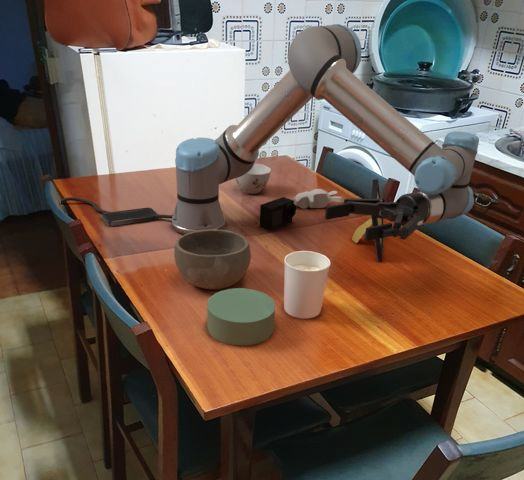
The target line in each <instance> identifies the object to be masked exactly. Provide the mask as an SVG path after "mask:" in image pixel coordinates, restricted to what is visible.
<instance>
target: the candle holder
mask: <svg viewBox="0 0 524 480" xmlns="http://www.w3.org/2000/svg"><path fill="white" fill-rule="evenodd" d="M283 259H284V260H283V261H284V272H283V273H284V275H283V277H284V278H283V309H284V311H285V312H286V314H287V315H289V316H291V317H293V318H296V319H301V320H302V319H303V320H304V319H307V320H308V319H313V318H316V317H317V316H319V315H320V314H321V312H322V308H323V302H324V298H325V292H326V288H327V284H328V283H327V282H328V277H329V273H330V267H331V260H330V259H329V257H327V256H326V255H324V254H322V253H320V252H316V251H312V250H297V251H292V252H290V253H288V254H287V255H285V257H284V258H283Z"/></svg>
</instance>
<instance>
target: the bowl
mask: <svg viewBox="0 0 524 480" xmlns="http://www.w3.org/2000/svg"><path fill="white" fill-rule="evenodd" d="M173 252H174V254H173V255H174V262H175V265H176V268H177V270H178V272H179V273H180V275H181V276H182V277H183V279H184V280H185V281H186V282H187V283H188V284H190V285H193V286H194V287H197V288H201V289H206V290H224V289H226V288H229V287H231V286H233V285H235V284H237V283H238V282H239V281H240V280H242V278H243V277H244V276H245V275H246V273H247V271H248V270H249V267H250V263H251V258H252V257H251V255H252V253H251V246H250V244H249V241H248V239H247V238H246V237H245V236H243V234H240V233H238V232H235V231H232V230H228V229H223V230H217V229H208V230H200V231H194V232H190V233H187V234H182V235H181V236H179V237H178V238H177V239H176V241H175V244H174V251H173Z"/></svg>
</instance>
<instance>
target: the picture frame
mask: <svg viewBox="0 0 524 480" xmlns="http://www.w3.org/2000/svg"><path fill="white" fill-rule="evenodd" d="M379 184H380V183H379V179H378V178H375V179H372V187H371V195H370V196H371V197H370V199H377V198H381V193H380V185H379ZM379 214H381V215H382V210H381V211H380V213H379ZM370 216H371V217H370V218H369V219H368V220H366V221H365V222H363V223H362V224H361V225H359V226H358V227H357V228H355V231H354V233H353V235H352V237H351V240H352V241H353V242H354V243H355V244H358V243H359V242H360V241H361V239H362V238H363V237H364V236H365V233H366V228H368V227H373V226H377V225H382V224H384V219H382V218H376V216H372V215H370ZM374 247H375V254H376V260H377V261H376V262H382V261H383V256H384V238H381V239H376V240H374Z"/></svg>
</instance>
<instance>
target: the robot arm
mask: <svg viewBox="0 0 524 480" xmlns="http://www.w3.org/2000/svg"><path fill="white" fill-rule="evenodd" d="M361 61H362V43H361V41H360V38H359V36H358V34H357V33H356V32H355V31H354V30H353V29H352V28H351V27H349V26H347V25H343V24H341V23H333V24H328V25H318V26H317V25H315V26H314V25H313V26H308V27H306V28H304V29H302V30H301V31H299V32H298V33H297V34H296V35H295V36H294V38H293V39H292V41H291V42H290V46H289V48H288V53H287V62H288V67H289V70H288V71H287V72H286V73H285V75H283V76H282V77H281V78H280V80H278V82H277V83H276V84H275V85H274V86H273V87H272V88H271V89H270V91H268V92H267V94H266V95H265V96H264V97H262V99H261V100H260V101H259V102H258V103H257V104H256V105H255V106H254V107H253V108H252V109H251V110H250V112H249V113H247V114H246V116H245V117H244V118H243V119H242V120H241V121H240V122H239V123H238V124H230V125H229V126H227V128H226V129H225V130H224V131H223V132H222V133H221V134H220V135H219V136H218V137H217V138H215V139H213V138H210V137H196V138H194V137H192V138H189V139H186V140H185V139H184V140H183V141H181V142H180V143H179V144H178V145H177V147H176V149H175V158H174V164H175V176H176V177H175V178H176V198H177V199H176V202H175V206H174V210H173V213H172V214H159V213H156V214H148V215H153V216H157V218H158V219H171V227H172V228H173V230H174V231H175V232H176V233H179V234H182V235H185V234H187V233H190V232H194V231H200V230H208V229H217V230H225V228H226V219H225V216H224V213H223V209H222V206H221V202H220V185H222V184H224V183H227V182H229V181H232V180H234V179H235V178H238V177H240V176H243V175H245V174H246V173H247V172H249V171H250V170H251V168H252V167H253V165H254V164H256V161H257V159H258V158H259V156H260V149H261V148H262V147H263V146H264V145H265V144H266V143H267V142H268V141H270V139H271V138H272V137H273V136H275V134H277V133H278V132H279V131H280V130H281V129H282V128H283V127H284V126H285V125H286V124H287V123H288V122H290V120H291V119H292V118H294V116H295V115H296V114H298V113H299V112H300V110H301V109H302V108H304V106H306V105H307V104H308V103H309V102H310V101H311V100H312V99H313V98H314V99H315V100H317V101H321V100H325V101H326V103H328V104H329V105H330V106H331V107H333V108H334V109H335V110H336V111H337V112H338V113H340V114H341V115H342V116H343V117H344V118H345V119H347V121H349V122H350V123H351V124H353V125H354V126H355V127H356V128H357V129H359V130H360V131H361V132H362V133H363V134H364V135H366V136H367V137H368V138H369V139H370V140H372V141H373V143H375V144H376V145H378V146H379V148H381V149H382V150H383V151H384V152H385V153H387V154H388V155H389V156H390V157H392V158H393V159H394V160H395V161H396V162H397V163H399V164H400V165H401V166H402V167H403V168H404V169H406V170H407V171H408V172H409V173H410V174H411V175H413V178H414V182H415V186H416V187H417V189H418V190H419V191H417V192H416V191H415V192H409V193H405V194H402V195H400V196H399V197H398V198H397V199H396V200H395V201H389V202H387V201H386V198H385V197H380V198H377V199H371V198H350V197H349V198H347V197H346V198H344V199H343V203H339V204H334V205H329V206H326V207H325V211H324V220H332V219H339V218H343V217H349V216H350V215H351V214H352V215H363V216H371V215H372V216H376V218H382V219H383V220H387V221H389V222H387V223H383V224H382V225H377V226H373V225H372V226H370V227H368V228H366V233H365V234H364V239H363V240H364V242H371V241H375V240H376V239H381V238H383V239H385V238H388V237H393V238H397V237H399V240H402V241H404V240H407V239H408V238H409V237H410V236H411V235H412V234H413V233H414V232H415V231H416V230H419V229H422V228H423V225H429V224H432V223H437V222H440V221H444V220H451V219H456V218H458V217H461V216H464V215H466V214H468V213H469V212H470V211H471V209H472V208H473V206H474V204H475V198H474V191H473V189H472V188H471V187H470V186H469V184H470V180H471V176H472V173H473V169H474V165H475V161H476V157H477V154H478V151H479V149H478V148H479V145H480V143H479V142H480V139H479V137H478V135H476V134H474V133H472V132H467V131H449V132H448V133H446V135H445V136H444V140H443V143H442V145H441V146H439V145H438V144H437V143H436V142H435V141H434V140H433V139H431V138H430V137H429V136H428V135H427V134H425V133H424V132H423V131H422V130H421V129H419V127H417V126H416V125H415V124H413V122H411V121H410V120H409V119H408V118H406V117H405V116H404V115H403V114H401V112H399V111H398V110H397V109H396V108H394V106H392V105H391V104H390V103H389V102H387V101H386V99H383V97H381V96H380V95H379V94H378V93H376V92H375V91H374V90H373V89H372V88H371V87H369V85H367V84H366V83H365V82H363V81H362V80H361V79H360V78H359V77H357V76H356V75H355V74H354V73H355V72H356V71H357V69H358V68H359V66H360V64H361ZM60 200H61V204H60V205H62V204H63V203H65V202H69V201H73V202H80V203H84V204H89V205H91V206H92V207H93V209H94V210H95V211H96V212H98V213H100V214H103V213H108V212H110V211H108V210H104V209H101V208H99V207H98V206H97V204H96V203H95V202H94V201H92V200H88V199H84V198H79V197H72V196H68V197H64V198H62V199H60ZM381 210H382V215H381V214H379V213H380V211H381ZM112 212H113V213H115V212H116V211H112ZM121 214H124V213H121Z"/></svg>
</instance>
